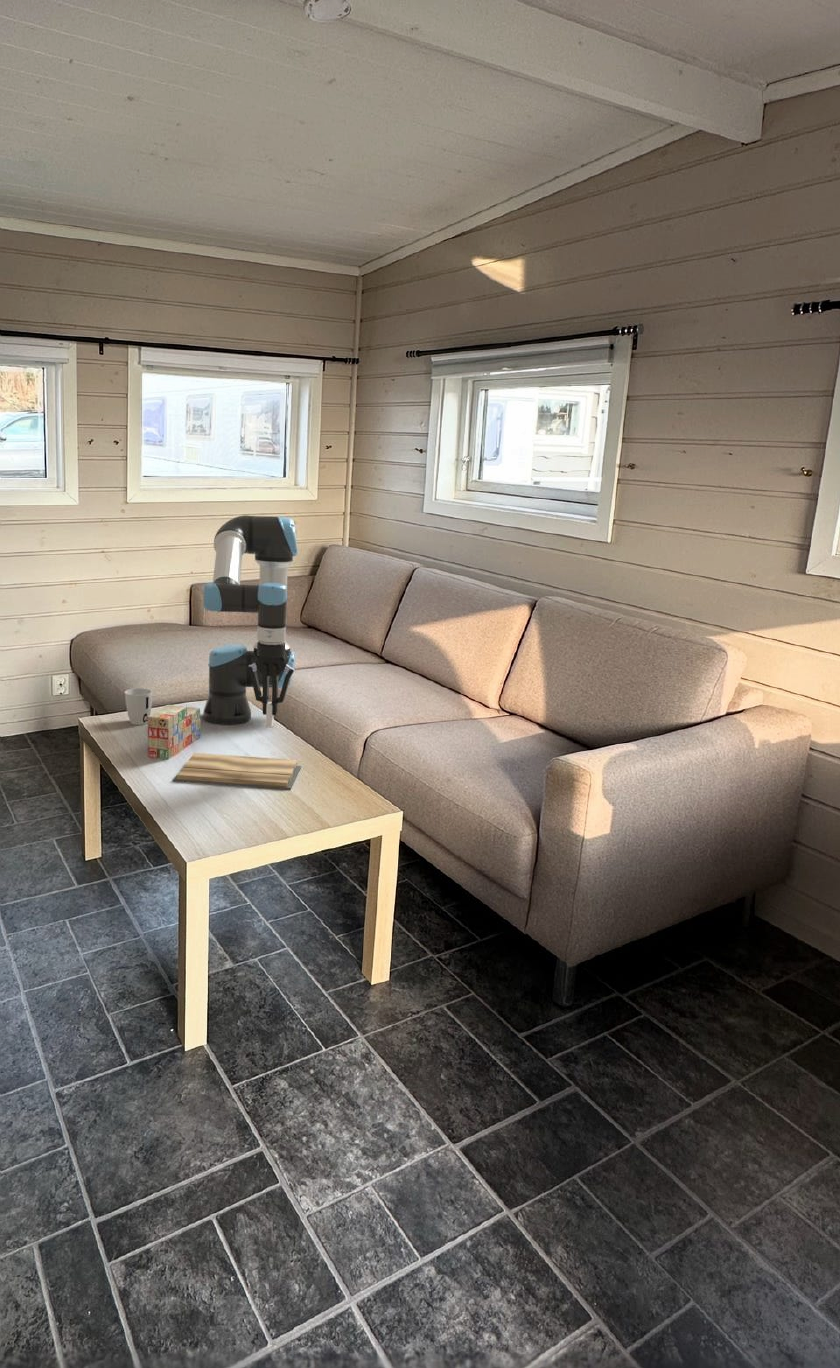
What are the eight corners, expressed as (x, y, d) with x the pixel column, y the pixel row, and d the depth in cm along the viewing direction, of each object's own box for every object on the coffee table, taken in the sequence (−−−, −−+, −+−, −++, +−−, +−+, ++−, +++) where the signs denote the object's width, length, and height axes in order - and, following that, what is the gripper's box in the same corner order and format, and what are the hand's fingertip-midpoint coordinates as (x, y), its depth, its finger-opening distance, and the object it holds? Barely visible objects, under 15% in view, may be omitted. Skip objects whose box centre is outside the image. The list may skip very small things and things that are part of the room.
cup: (148, 727, 279) (147, 696, 277) (121, 725, 279) (121, 694, 277) (156, 719, 287) (155, 689, 284) (130, 717, 287) (129, 687, 284)
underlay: (190, 759, 254) (190, 758, 254) (301, 767, 253) (301, 765, 253) (172, 781, 238) (172, 779, 237) (290, 789, 237) (290, 788, 237)
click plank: (194, 756, 253) (193, 752, 253) (297, 764, 253) (297, 760, 252) (183, 771, 244) (183, 766, 244) (291, 778, 243) (291, 774, 243)
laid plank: (183, 771, 243) (182, 767, 243) (290, 779, 243) (290, 775, 242) (176, 779, 238) (176, 774, 238) (287, 787, 237) (287, 782, 237)
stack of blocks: (181, 735, 274) (181, 696, 271) (200, 737, 273) (200, 698, 270) (147, 757, 254) (147, 715, 251) (168, 760, 253) (168, 718, 250)
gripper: (244, 643, 239) (243, 728, 245) (293, 646, 239) (291, 731, 245) (250, 637, 246) (249, 720, 252) (298, 640, 246) (295, 723, 252)
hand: (269, 726), depth 248 cm, fingers closed
